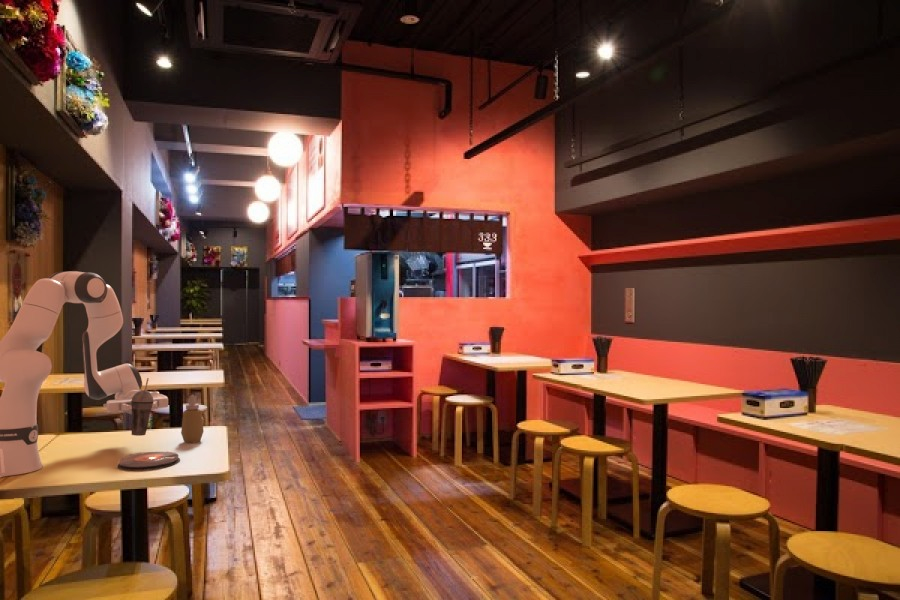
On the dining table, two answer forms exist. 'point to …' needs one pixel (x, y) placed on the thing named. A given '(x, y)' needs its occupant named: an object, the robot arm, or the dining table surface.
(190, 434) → the squeeze bottle
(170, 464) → the base
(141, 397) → the beverage cup
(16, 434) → the robot arm
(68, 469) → the dining table surface
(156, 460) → the dark round disc
